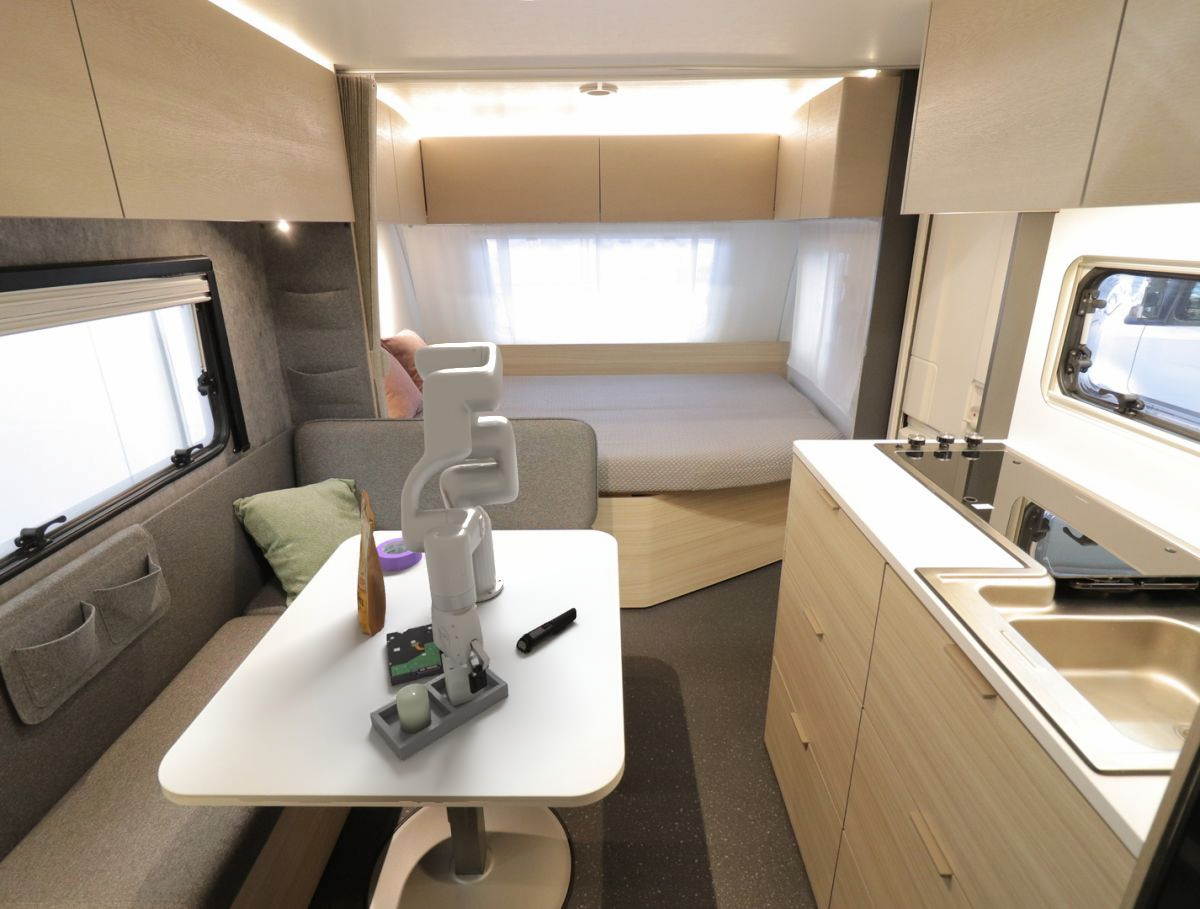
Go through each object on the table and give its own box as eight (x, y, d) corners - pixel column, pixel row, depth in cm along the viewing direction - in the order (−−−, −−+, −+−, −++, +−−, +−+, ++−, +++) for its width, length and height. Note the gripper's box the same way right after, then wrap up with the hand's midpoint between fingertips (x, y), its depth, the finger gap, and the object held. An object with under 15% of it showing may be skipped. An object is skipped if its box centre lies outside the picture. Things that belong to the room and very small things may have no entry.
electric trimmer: (581, 623, 133) (581, 610, 132) (526, 656, 122) (525, 642, 121) (569, 616, 135) (569, 604, 134) (515, 648, 125) (514, 635, 123)
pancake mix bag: (392, 591, 146) (375, 483, 137) (392, 637, 129) (372, 517, 120) (363, 596, 144) (343, 488, 135) (359, 643, 127) (336, 522, 118)
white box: (484, 697, 110) (480, 663, 108) (451, 707, 108) (446, 673, 105) (477, 676, 115) (473, 644, 113) (445, 686, 113) (440, 653, 111)
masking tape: (429, 550, 166) (427, 537, 165) (411, 571, 155) (409, 558, 154) (388, 548, 168) (386, 536, 167) (368, 570, 157) (366, 556, 156)
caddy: (402, 761, 98) (399, 748, 97) (372, 725, 105) (369, 713, 104) (508, 695, 111) (507, 683, 110) (475, 667, 119) (474, 656, 118)
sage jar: (395, 722, 105) (390, 694, 103) (422, 707, 108) (418, 679, 106) (409, 738, 101) (404, 709, 99) (437, 722, 105) (433, 693, 103)
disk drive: (386, 645, 127) (391, 689, 114) (384, 633, 127) (389, 677, 113) (437, 633, 131) (447, 674, 118) (435, 621, 130) (445, 662, 117)
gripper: (409, 585, 108) (421, 664, 113) (461, 624, 96) (472, 711, 102) (446, 569, 113) (456, 646, 118) (501, 605, 101) (509, 689, 107)
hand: (464, 676), depth 110 cm, fingers open, 9 cm apart
